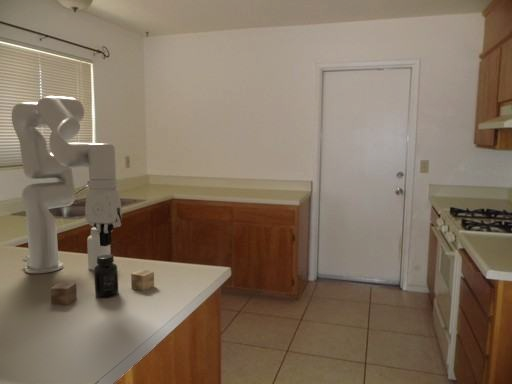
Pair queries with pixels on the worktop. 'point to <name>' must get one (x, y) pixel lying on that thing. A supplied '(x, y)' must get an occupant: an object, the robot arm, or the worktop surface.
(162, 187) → the worktop surface
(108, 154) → the robot arm
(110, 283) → the supplement bottle
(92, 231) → the pill bottle
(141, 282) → the maple block
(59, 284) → the walnut block
